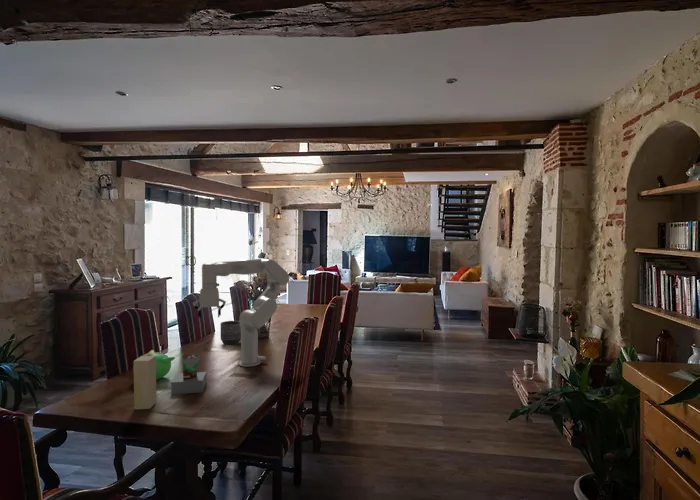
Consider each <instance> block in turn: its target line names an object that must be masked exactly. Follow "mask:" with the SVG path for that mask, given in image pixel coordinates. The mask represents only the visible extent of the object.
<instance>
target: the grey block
mask: <svg viewBox="0 0 700 500" xmlns="http://www.w3.org/2000/svg"><path fill="white" fill-rule="evenodd" d="M170 384H171V385H170V389H171V391H170V394H171V395H181V394H195V393H199V394H200V393H203V392H204V390H205V388H206V384H207V371H197V376H196V377H195V378H192V379H183V372H178V373H176V374H175V376H174V377H173V379H172V380H171V382H170Z"/></svg>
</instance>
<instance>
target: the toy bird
mask: <svg viewBox="0 0 700 500" xmlns="http://www.w3.org/2000/svg"><path fill="white" fill-rule="evenodd" d="M141 356H156V381H157V380H160V379H162V378H164V377H165V376H166V375H167V374H169V372H170V370H171V368H172V361H174V360H175V359H176V357H175V356H170V357H169V356H168V354H165V353H162V352H159V351H158V352H156V351H154V349H151V350H150V351H149V352H148V353H145V354H143V355H141ZM132 370H133V372H134V365H133V367H132Z"/></svg>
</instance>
